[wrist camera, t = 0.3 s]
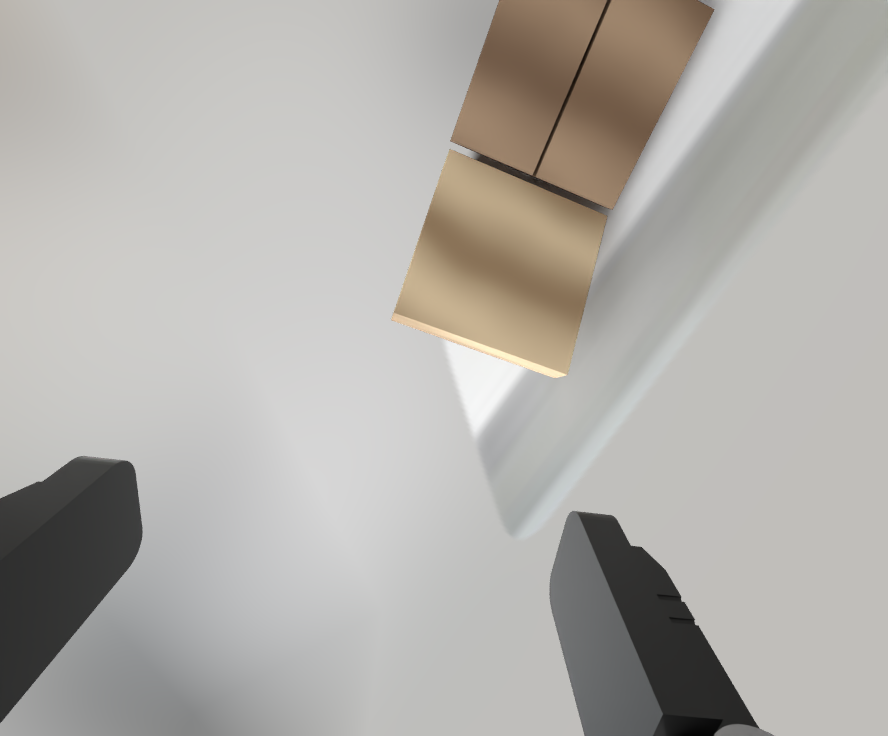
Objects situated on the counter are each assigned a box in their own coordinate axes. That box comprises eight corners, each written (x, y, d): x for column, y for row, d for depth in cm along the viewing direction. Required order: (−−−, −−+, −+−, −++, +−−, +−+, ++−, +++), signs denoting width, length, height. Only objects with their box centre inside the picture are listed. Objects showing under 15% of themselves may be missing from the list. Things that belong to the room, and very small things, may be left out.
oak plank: (443, 164, 26) (449, 148, 25) (593, 227, 28) (607, 215, 26) (391, 320, 24) (393, 312, 23) (554, 378, 26) (567, 374, 24)
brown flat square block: (524, -72, 22) (530, -88, 21) (697, 18, 24) (714, 9, 22) (450, 141, 26) (450, 140, 24) (603, 206, 27) (612, 209, 26)
